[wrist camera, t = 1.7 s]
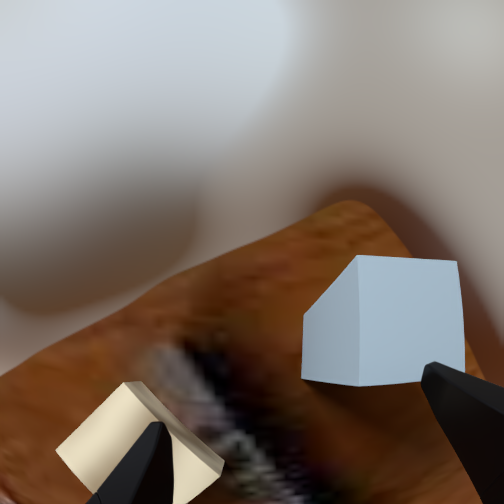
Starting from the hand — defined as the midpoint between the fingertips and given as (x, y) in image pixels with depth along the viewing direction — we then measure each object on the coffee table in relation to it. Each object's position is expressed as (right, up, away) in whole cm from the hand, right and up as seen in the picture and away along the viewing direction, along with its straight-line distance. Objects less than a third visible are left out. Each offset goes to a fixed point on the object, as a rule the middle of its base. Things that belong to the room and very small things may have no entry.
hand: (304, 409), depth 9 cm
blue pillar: (+5, -2, +14) cm, 15 cm away
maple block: (-10, -11, +11) cm, 19 cm away
